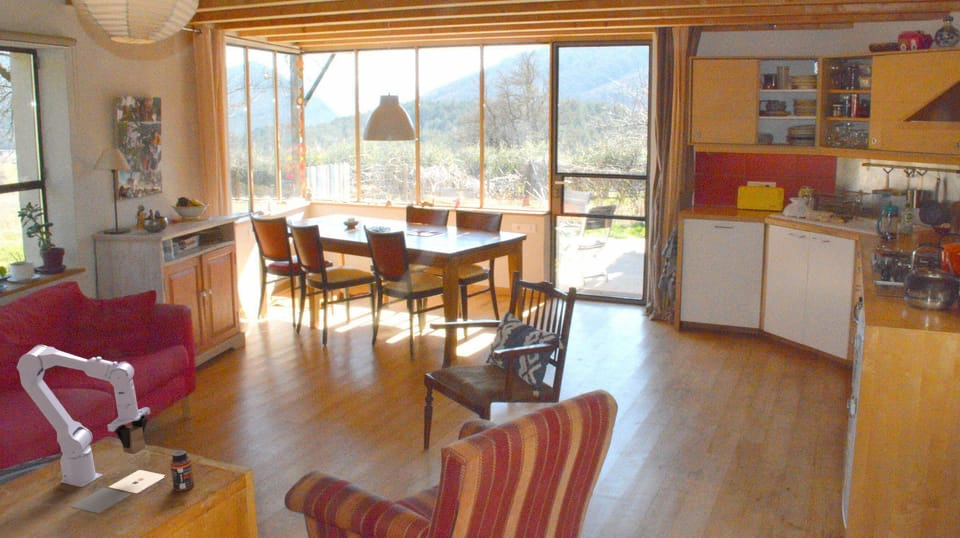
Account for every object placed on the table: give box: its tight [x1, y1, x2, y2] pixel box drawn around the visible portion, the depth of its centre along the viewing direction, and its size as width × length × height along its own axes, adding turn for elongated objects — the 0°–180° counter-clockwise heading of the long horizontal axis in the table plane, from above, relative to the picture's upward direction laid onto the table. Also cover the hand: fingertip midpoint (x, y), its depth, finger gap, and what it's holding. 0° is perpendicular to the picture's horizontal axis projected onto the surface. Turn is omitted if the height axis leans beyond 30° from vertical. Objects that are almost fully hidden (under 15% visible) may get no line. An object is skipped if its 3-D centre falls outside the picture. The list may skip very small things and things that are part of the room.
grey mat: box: [69, 487, 132, 515], centre depth 259 cm, size 12×12×1 cm
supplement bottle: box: [169, 449, 195, 492], centre depth 263 cm, size 6×6×11 cm
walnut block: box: [121, 424, 147, 455], centre depth 272 cm, size 4×4×7 cm
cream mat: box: [108, 469, 166, 494], centre depth 270 cm, size 12×12×1 cm
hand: (133, 444), depth 272 cm, fingers closed on walnut block, 4 cm apart
